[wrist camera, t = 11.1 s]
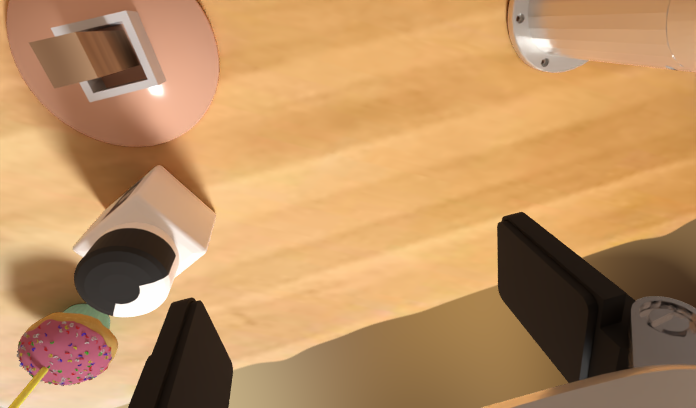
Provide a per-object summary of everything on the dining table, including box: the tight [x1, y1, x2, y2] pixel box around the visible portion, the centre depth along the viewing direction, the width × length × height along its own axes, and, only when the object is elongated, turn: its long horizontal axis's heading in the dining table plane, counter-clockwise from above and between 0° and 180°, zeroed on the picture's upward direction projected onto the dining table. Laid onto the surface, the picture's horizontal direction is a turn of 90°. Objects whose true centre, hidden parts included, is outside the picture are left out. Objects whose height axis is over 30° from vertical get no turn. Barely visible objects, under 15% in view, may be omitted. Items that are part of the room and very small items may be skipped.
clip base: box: [7, 0, 220, 147], centre depth 31 cm, size 16×16×4 cm
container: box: [73, 165, 216, 317], centre depth 34 cm, size 8×8×13 cm
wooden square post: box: [29, 30, 139, 89], centre depth 28 cm, size 3×3×9 cm
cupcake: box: [8, 304, 118, 408], centre depth 38 cm, size 9×8×12 cm
